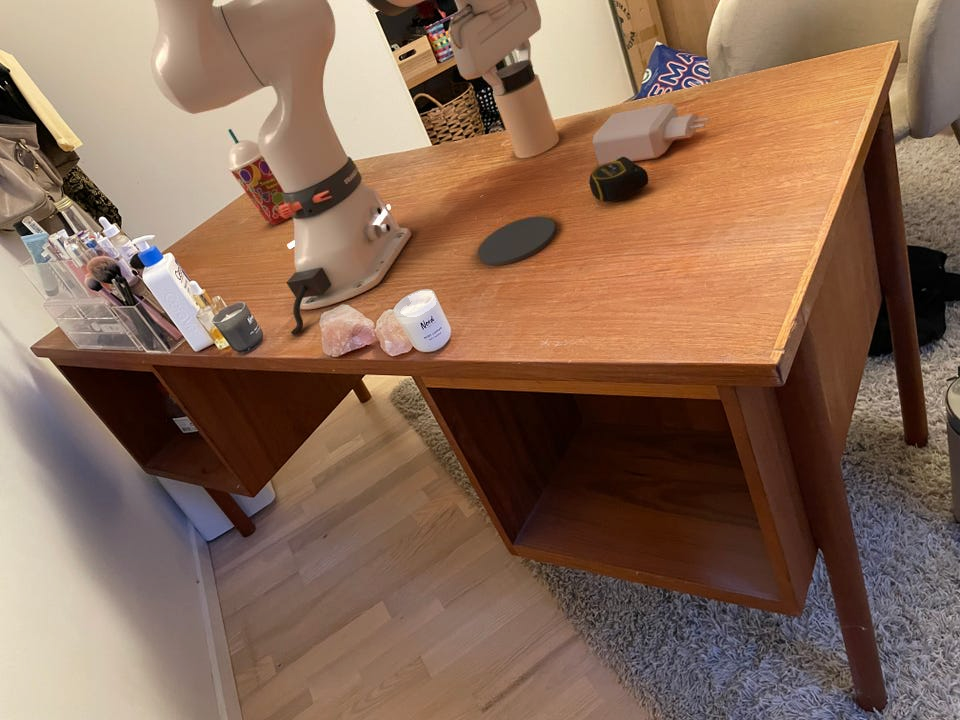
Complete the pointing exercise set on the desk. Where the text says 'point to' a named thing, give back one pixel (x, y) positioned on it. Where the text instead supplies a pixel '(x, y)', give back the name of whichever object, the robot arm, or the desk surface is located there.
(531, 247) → the coaster
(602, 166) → the tape measure
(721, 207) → the desk surface
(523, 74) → the lid
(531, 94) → the jar
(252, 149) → the smoothie
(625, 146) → the charger
